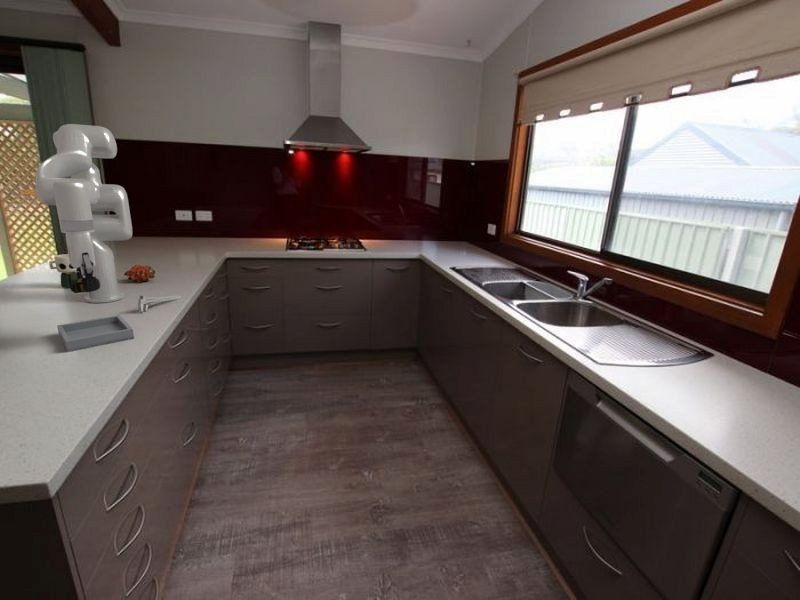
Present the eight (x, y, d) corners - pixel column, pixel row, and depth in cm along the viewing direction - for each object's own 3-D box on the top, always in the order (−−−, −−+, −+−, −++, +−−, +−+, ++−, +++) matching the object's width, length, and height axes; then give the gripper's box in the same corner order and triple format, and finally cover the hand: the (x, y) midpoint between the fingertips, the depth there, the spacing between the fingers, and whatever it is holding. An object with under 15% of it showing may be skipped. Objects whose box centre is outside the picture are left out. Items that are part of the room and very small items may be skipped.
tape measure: (72, 290, 122) (70, 277, 121) (101, 287, 126) (98, 275, 125) (71, 296, 117) (69, 283, 116) (101, 293, 121) (99, 280, 120)
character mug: (54, 290, 166) (48, 258, 162) (53, 286, 171) (47, 255, 168) (88, 287, 173) (82, 256, 169) (86, 283, 178) (81, 253, 174)
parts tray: (59, 334, 126) (57, 325, 125) (120, 323, 137) (119, 314, 136) (67, 352, 115) (65, 341, 114) (134, 338, 126) (132, 329, 125)
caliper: (142, 314, 147) (139, 296, 145) (139, 313, 147) (136, 296, 145) (182, 298, 166) (180, 282, 165) (179, 297, 167) (178, 282, 165)
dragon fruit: (158, 284, 187) (128, 289, 183) (158, 270, 191) (128, 275, 188) (152, 272, 180) (121, 277, 176) (151, 258, 184) (121, 262, 181)
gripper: (55, 223, 120) (66, 283, 125) (65, 231, 108) (77, 296, 113) (87, 222, 125) (97, 279, 130) (100, 229, 113) (110, 292, 118)
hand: (88, 287), depth 121 cm, fingers closed on tape measure, 7 cm apart
